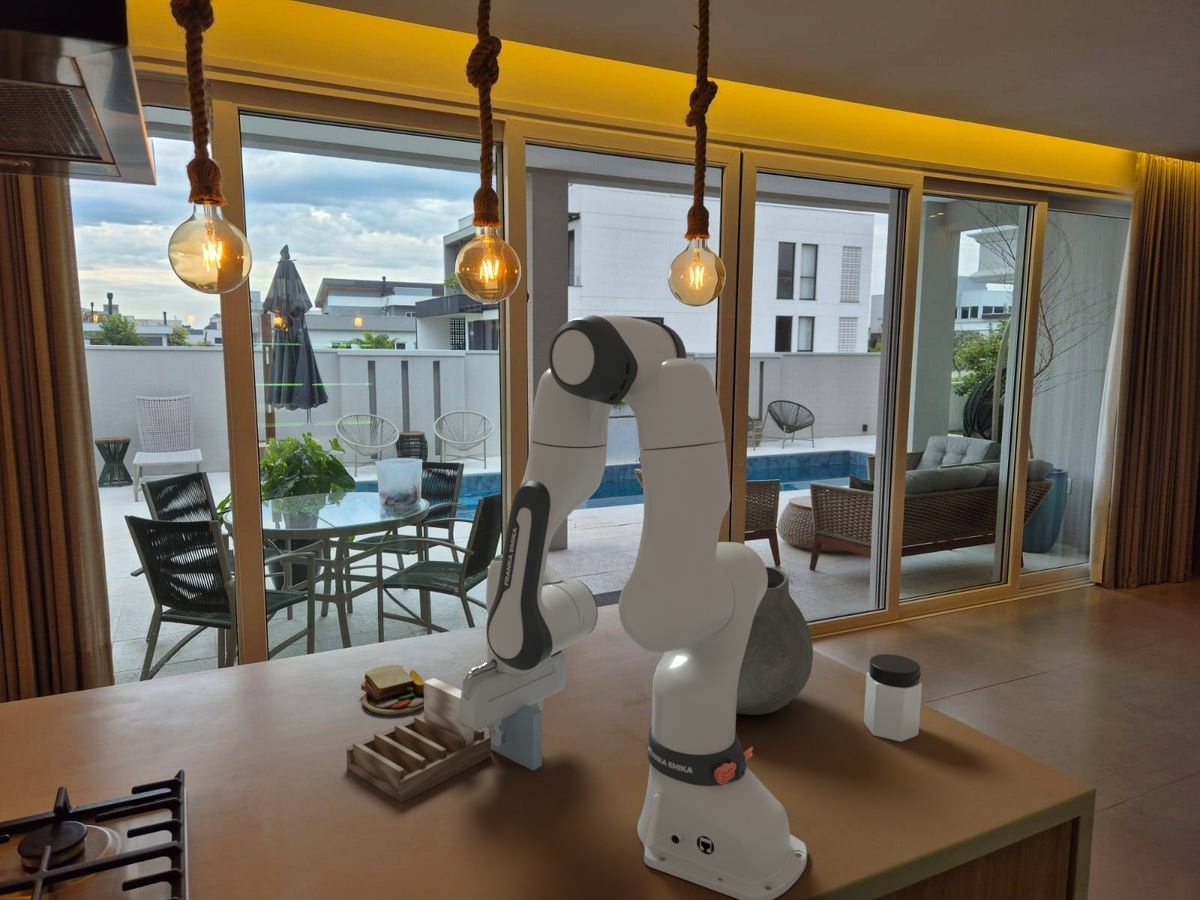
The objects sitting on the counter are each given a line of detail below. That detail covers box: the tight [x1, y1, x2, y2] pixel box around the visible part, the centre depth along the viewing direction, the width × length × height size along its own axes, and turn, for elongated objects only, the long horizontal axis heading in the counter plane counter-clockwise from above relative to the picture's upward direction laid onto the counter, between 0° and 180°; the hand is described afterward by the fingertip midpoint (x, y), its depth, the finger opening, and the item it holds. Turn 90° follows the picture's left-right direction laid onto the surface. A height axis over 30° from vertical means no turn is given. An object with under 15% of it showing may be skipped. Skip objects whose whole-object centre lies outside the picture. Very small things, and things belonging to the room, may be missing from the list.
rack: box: [346, 677, 492, 803], centre depth 122 cm, size 14×17×10 cm
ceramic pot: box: [736, 566, 814, 716], centre depth 142 cm, size 24×24×25 cm
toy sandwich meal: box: [360, 664, 425, 716], centre depth 144 cm, size 12×14×5 cm
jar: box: [863, 653, 923, 743], centre depth 135 cm, size 9×8×12 cm
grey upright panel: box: [488, 705, 543, 771], centre depth 124 cm, size 10×2×9 cm, turn 50°
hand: (515, 734), depth 125 cm, fingers open, 6 cm apart
